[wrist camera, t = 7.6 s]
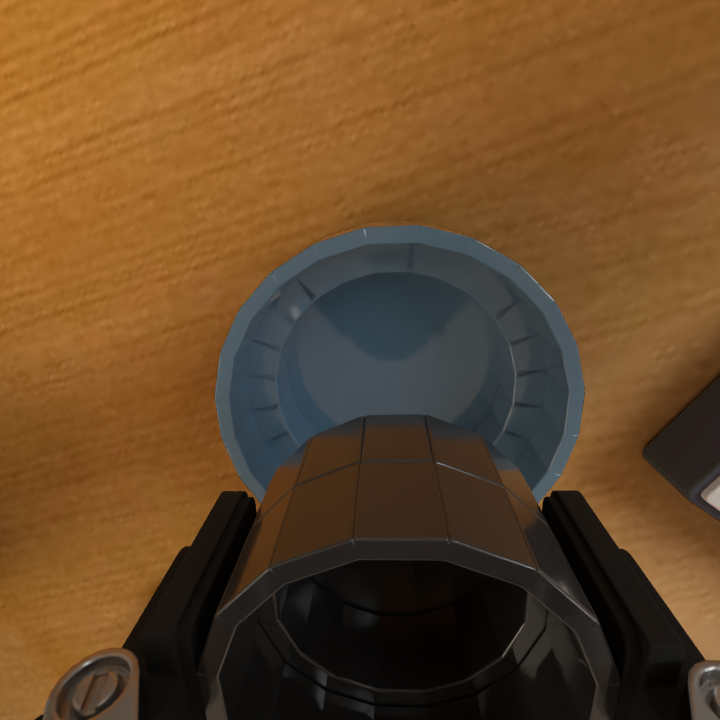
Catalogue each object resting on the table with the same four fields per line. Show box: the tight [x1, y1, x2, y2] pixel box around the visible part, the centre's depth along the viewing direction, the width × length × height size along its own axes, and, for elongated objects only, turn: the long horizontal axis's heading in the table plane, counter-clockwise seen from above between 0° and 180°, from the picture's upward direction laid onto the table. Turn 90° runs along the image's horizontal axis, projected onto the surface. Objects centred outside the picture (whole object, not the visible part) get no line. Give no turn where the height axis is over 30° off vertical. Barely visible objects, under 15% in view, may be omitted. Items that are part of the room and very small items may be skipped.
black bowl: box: [196, 414, 622, 720], centre depth 9 cm, size 7×7×4 cm
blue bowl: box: [215, 221, 585, 503], centre depth 20 cm, size 14×14×6 cm
